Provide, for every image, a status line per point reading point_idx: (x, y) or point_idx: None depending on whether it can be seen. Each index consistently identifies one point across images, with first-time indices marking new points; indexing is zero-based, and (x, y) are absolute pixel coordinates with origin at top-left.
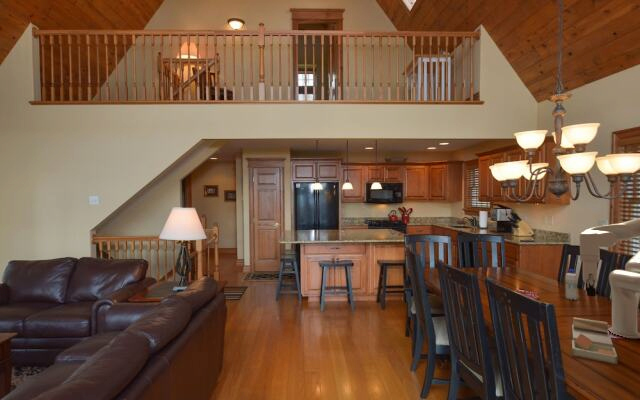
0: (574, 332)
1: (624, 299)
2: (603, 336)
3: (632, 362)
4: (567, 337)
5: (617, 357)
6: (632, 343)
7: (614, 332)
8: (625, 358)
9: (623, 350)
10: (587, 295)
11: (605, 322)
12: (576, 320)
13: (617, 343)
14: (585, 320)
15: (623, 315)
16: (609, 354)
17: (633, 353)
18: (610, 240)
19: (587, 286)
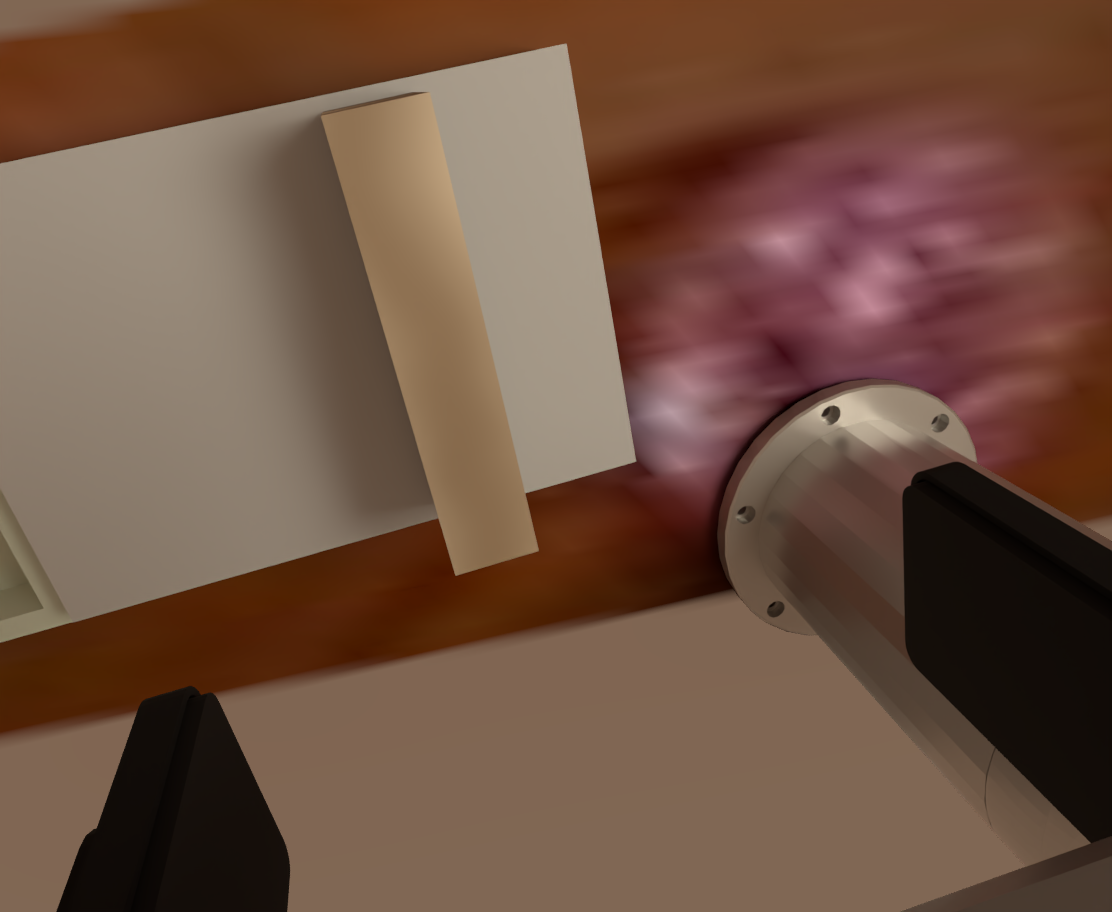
0: (151, 157)
1: (1056, 852)
2: (310, 486)
3: (8, 725)
4: (243, 35)
5: None
6: (592, 609)
7: (764, 460)
8: (67, 665)
9: (307, 604)
10: (144, 703)
11: (506, 540)
12: (338, 165)
13: None
14: (388, 306)
15: (879, 658)
16: None
17: (294, 675)
18: None
19: (1009, 597)
